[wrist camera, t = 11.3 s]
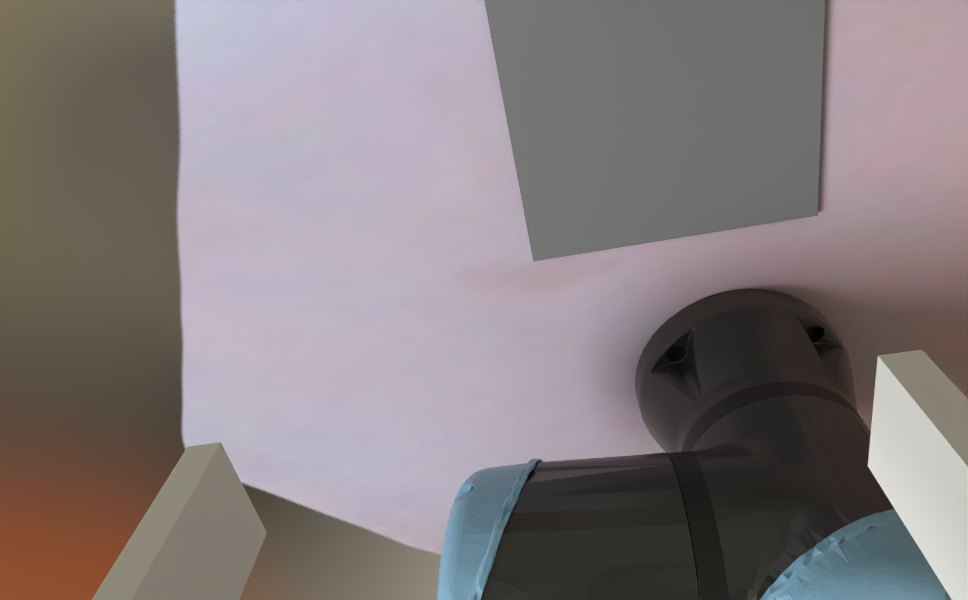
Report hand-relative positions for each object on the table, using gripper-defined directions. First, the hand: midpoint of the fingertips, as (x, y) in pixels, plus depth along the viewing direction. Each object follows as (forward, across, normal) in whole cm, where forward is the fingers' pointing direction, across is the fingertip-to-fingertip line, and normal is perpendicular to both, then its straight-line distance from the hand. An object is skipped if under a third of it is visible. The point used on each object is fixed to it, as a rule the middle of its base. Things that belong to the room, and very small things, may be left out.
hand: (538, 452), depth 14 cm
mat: (+33, -8, +2) cm, 34 cm away
